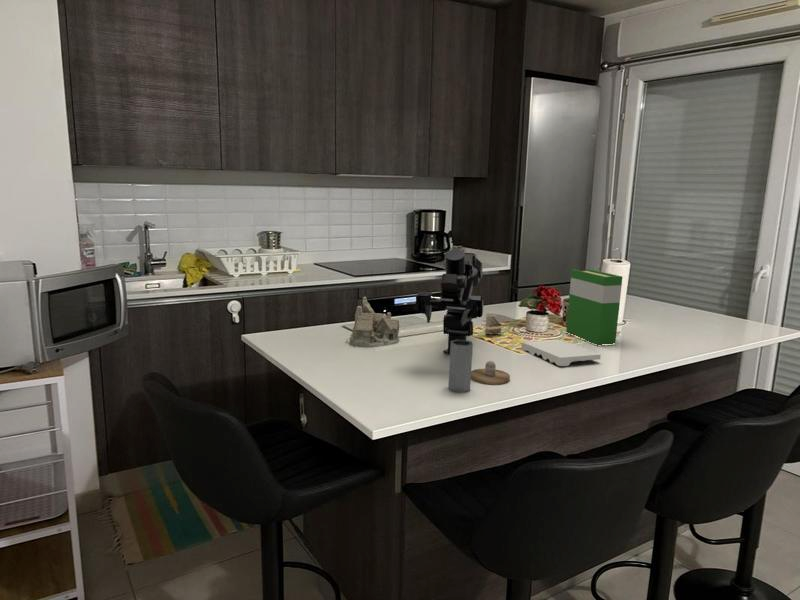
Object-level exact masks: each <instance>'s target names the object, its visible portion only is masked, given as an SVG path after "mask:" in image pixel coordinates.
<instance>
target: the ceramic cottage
mask: <svg viewBox="0 0 800 600" xmlns="http://www.w3.org/2000/svg"><path fill="white" fill-rule="evenodd" d="M367 298H368V297H366V296H363V297H362V304H361V305H358V306H356V311H355V315H354V324H353V328H352V331H351V332H352V333H351V334H350V339H349V343H348V344H349V345H350V346H351V347H355V348H365V349H366V348H377V347H385V346H390V345H392V346H393V345H396V344H399V342H400V337H399V333H400V323H399V322H400V321H399V319H397V318H396V319H392V313H391V312H387V313H381V312H380V313H379V312H377V313H376V312H375V311H374V309H373V308H372V307H371V304H370V303H369V301H368V299H367Z"/></svg>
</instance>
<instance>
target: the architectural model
mask: <svg viewBox="0 0 800 600" xmlns="http://www.w3.org/2000/svg"><path fill="white" fill-rule="evenodd" d="M485 318H486V319H485V326H483V329H485V330H484V331H485V332H484V333H485V334H490V333H493V334H492V335H495V334H497V333H500V334H501V333H502V329H503V328H505V327H504V326H502V323H501V321H499V314H492V315H491V314H490V315H486V317H485ZM485 334H484V335H485ZM500 334H499V335H500ZM490 335H491V334H490ZM497 335H498V334H497ZM501 335H502V334H501Z"/></svg>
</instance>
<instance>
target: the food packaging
mask: <svg viewBox="0 0 800 600" xmlns="http://www.w3.org/2000/svg"><path fill="white" fill-rule="evenodd" d="M521 349H523V350H524V351H525V352H528V353H529V355H532V356H535V355H537V356H542V357H541V358H542V359H543V360H545V361H546V360H549V363H551V364H556V365H557V367H568V366H569V365H570V364H573V363H572V362H575V363H576V362H579V361H580V362H581V363H583V362H585V361H587V362H589V361H591V360H592V361H594V360H596V361H597V360H601V353H597V352H595V351H592V350H589V349H587V348H584V347H581V346H578V345H575V344H572V343H570V342H567V341H565V340H561V339H553V340H537V341H536V340H535V341H523V342H522V343H521ZM582 361H583V362H582Z"/></svg>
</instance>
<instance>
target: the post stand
mask: <svg viewBox="0 0 800 600" xmlns="http://www.w3.org/2000/svg"><path fill="white" fill-rule="evenodd" d="M496 367H497V366H496V363H495V361H492V360H489V361H487V362H486V363H485V366H484V368H477V369H473V370H471V380H472V381H474V382H475V383H479V384H483V385H489V386H495V385H496V386H497V385H498V386H499V385H505V384H508V383H509V382H510V381H511V375H510V373H507V372H506V371H503V370H500V369H497V368H496Z"/></svg>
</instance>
